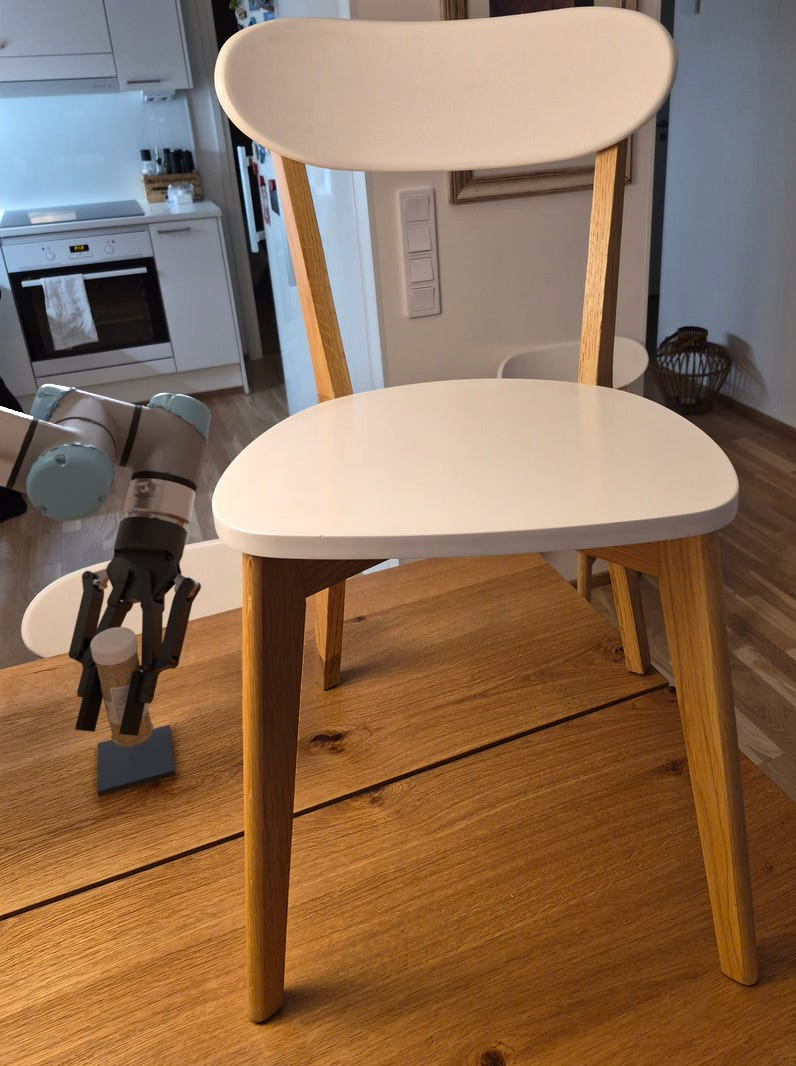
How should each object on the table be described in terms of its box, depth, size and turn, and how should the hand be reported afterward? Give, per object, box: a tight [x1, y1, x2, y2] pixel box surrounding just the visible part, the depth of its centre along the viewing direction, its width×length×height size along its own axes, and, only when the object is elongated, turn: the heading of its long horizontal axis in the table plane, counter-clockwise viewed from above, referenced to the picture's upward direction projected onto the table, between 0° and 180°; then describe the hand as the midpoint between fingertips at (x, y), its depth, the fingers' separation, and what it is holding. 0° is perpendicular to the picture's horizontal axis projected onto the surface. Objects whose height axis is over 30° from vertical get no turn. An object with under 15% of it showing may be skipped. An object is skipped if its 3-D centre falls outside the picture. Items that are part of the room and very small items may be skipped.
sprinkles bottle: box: [90, 626, 154, 747], centre depth 94 cm, size 5×5×13 cm
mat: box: [97, 724, 176, 796], centre depth 97 cm, size 8×8×1 cm
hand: (106, 732), depth 91 cm, fingers closed on sprinkles bottle, 4 cm apart
